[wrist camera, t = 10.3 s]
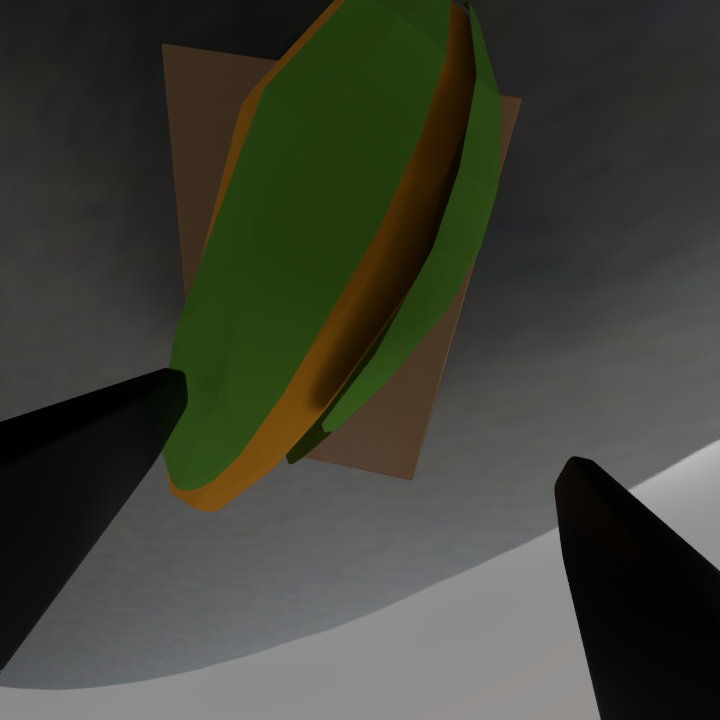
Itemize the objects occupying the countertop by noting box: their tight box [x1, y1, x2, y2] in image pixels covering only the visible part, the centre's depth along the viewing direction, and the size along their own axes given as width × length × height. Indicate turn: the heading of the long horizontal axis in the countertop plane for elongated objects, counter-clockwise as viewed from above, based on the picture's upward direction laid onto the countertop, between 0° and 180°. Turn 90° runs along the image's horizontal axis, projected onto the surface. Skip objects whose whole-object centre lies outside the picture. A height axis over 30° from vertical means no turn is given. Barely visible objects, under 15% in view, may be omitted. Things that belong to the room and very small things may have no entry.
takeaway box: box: [162, 44, 522, 480], centre depth 19 cm, size 17×12×5 cm
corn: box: [163, 0, 502, 512], centre depth 13 cm, size 7×8×20 cm
